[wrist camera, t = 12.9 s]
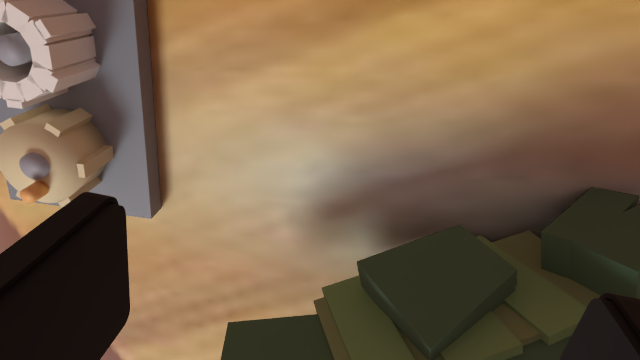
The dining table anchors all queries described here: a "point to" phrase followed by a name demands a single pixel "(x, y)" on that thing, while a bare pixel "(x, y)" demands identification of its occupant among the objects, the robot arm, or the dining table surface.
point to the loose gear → (46, 50)
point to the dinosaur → (465, 294)
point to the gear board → (89, 120)
